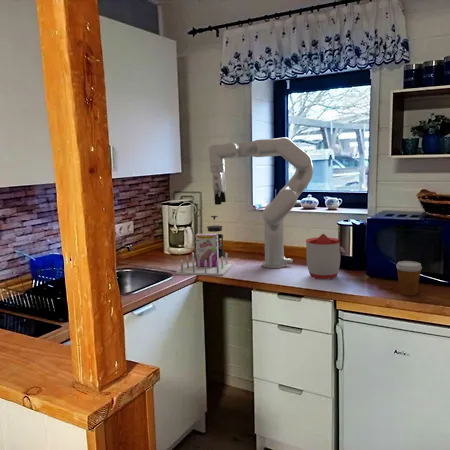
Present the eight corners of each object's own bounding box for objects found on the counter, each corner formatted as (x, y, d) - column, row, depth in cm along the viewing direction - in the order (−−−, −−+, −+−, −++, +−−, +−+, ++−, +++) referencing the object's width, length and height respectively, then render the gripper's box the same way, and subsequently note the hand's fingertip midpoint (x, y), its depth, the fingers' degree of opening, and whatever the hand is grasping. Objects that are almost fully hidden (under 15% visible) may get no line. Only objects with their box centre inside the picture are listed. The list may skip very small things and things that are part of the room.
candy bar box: (195, 267, 231) (194, 235, 228) (197, 264, 236) (196, 233, 233) (217, 267, 229) (216, 235, 227) (219, 264, 234) (218, 233, 232)
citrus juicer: (346, 281, 200) (346, 236, 197) (306, 281, 203) (305, 237, 200) (343, 272, 216) (343, 230, 212) (305, 272, 218) (305, 230, 215)
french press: (211, 253, 265) (210, 214, 262) (227, 254, 262) (225, 214, 258) (203, 258, 255) (201, 217, 251) (219, 259, 251) (217, 217, 248)
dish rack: (232, 265, 235) (232, 252, 234) (223, 275, 217) (222, 261, 216) (188, 264, 241) (187, 251, 240) (175, 274, 223) (175, 260, 222)
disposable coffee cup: (394, 288, 188) (395, 260, 186) (419, 290, 185) (420, 261, 183) (396, 295, 179) (396, 266, 177) (422, 297, 176) (423, 267, 174)
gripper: (221, 169, 220) (223, 205, 223) (228, 168, 237) (231, 201, 239) (206, 170, 222) (208, 205, 224) (214, 169, 238) (217, 201, 241)
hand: (220, 203), depth 232 cm, fingers open, 9 cm apart
